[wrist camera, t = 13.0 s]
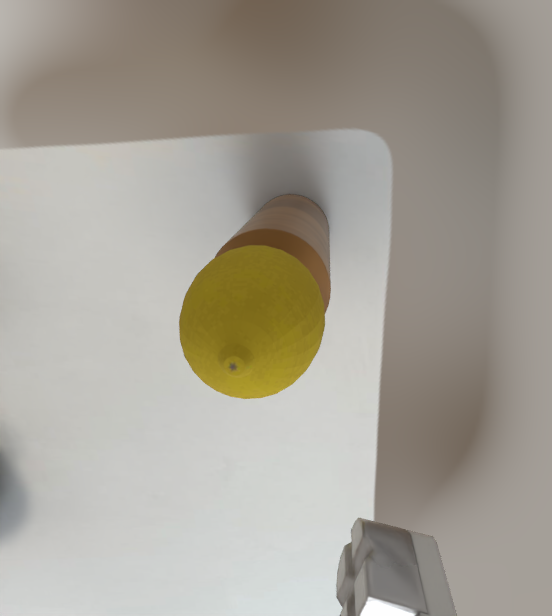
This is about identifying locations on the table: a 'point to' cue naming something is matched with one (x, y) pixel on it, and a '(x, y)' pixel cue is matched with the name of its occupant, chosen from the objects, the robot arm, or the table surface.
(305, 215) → the stand
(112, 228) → the table surface
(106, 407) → the table surface
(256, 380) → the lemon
